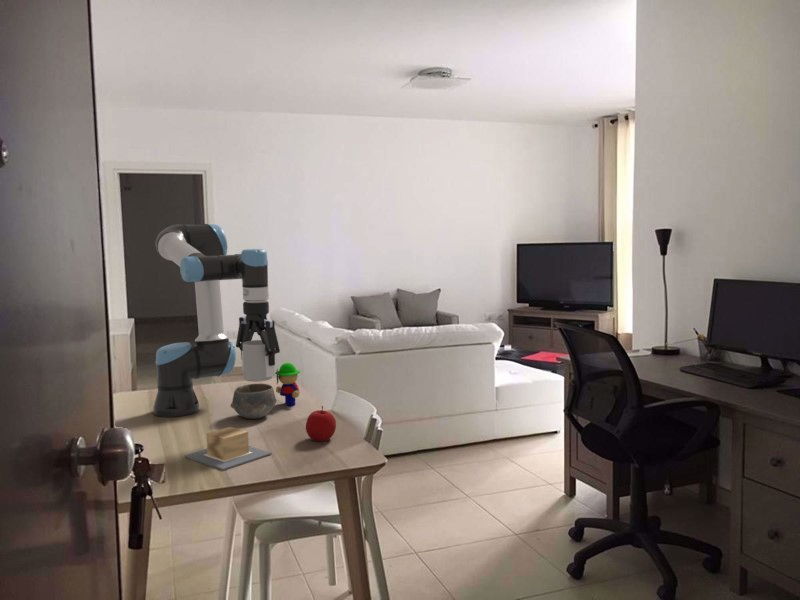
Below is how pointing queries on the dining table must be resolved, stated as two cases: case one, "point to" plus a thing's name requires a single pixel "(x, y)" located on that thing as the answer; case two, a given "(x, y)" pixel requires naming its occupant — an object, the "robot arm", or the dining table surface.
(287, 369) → the toy
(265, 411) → the bowl
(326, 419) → the apple
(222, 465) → the grey rectangular mat
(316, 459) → the dining table surface
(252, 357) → the mug
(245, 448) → the oak block
